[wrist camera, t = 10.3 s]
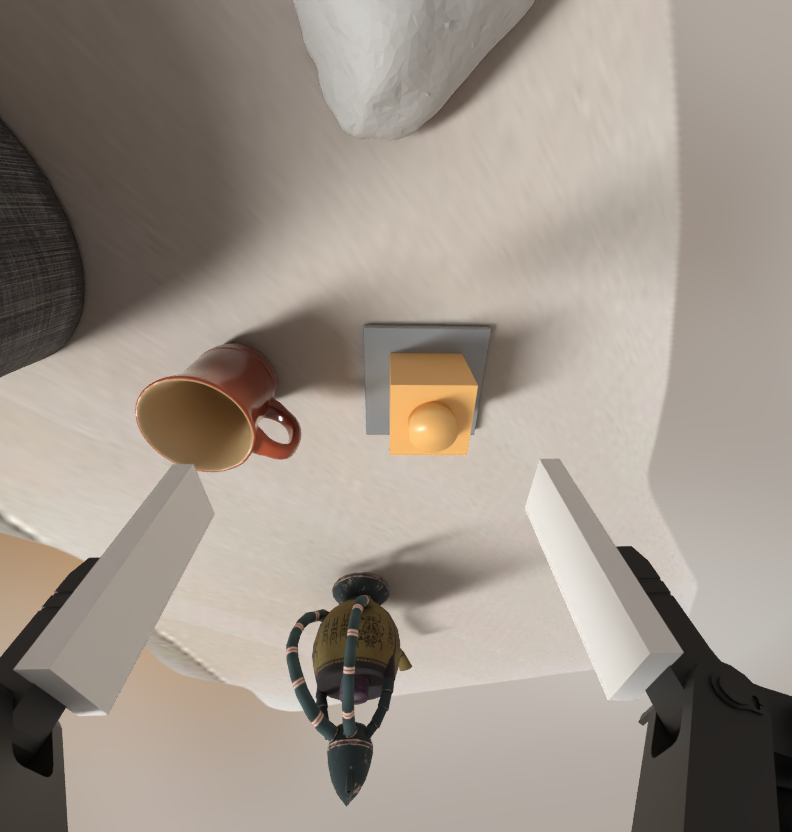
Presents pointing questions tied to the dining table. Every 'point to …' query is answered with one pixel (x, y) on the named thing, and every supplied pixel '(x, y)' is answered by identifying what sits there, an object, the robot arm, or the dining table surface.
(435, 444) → the orange cube with dome
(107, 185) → the dining table surface
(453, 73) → the decorative stone
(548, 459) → the robot arm
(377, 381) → the plate
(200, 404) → the mug
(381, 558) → the dining table surface
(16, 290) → the planter
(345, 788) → the teapot
